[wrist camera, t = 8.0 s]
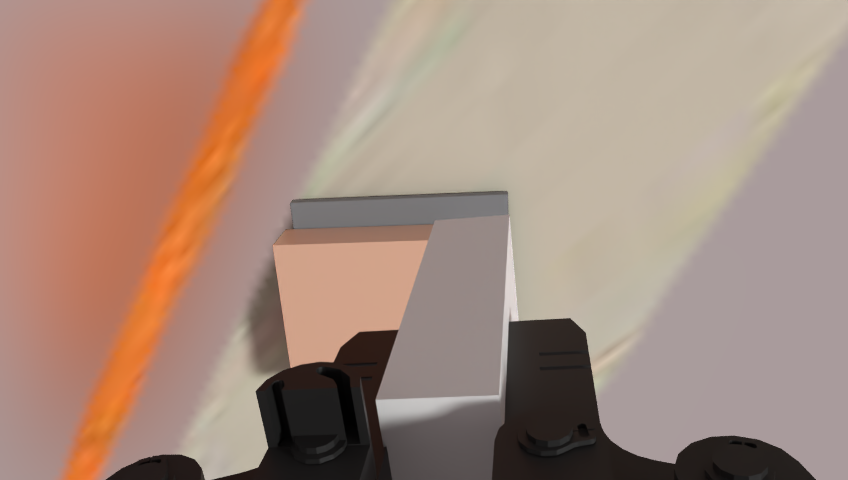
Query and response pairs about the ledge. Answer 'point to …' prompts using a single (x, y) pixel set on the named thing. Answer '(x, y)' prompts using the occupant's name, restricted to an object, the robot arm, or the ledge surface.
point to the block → (344, 284)
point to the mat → (395, 209)
